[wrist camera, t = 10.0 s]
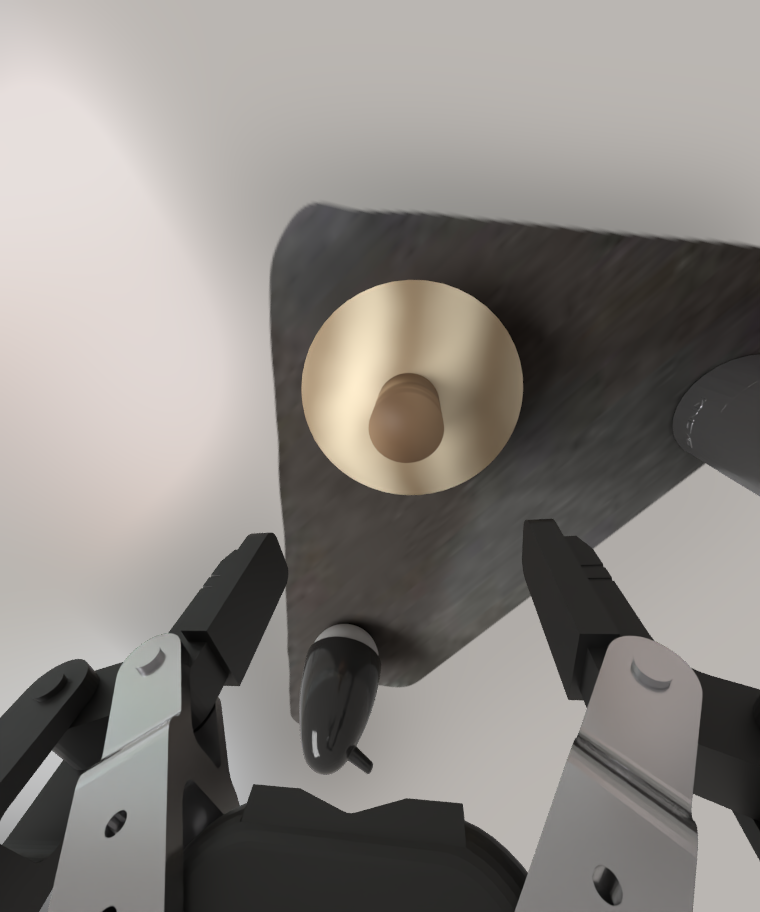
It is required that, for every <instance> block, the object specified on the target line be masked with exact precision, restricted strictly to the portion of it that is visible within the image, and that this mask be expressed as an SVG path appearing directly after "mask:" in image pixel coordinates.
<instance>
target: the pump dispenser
mask: <svg viewBox="0 0 760 912" xmlns="http://www.w3.org/2000/svg"><path fill="white" fill-rule="evenodd" d="M380 673H381V661H380V658H379V655H378V650H377V647H376V644H375V642H374V640H373V639H372V637H371V636H370V635H369V634H368V633H367V632H366V631H365V630H363V629H362V628H360V627H358V626H355V625H351V624H338V625H334V626H331V627H329V628H327V629H326V630H325V631H323V632H322V633H321V634H320V635H319V636H318V638H317V639H316V641H315V642H314V644H312V645H311V647H310V648H309V650H308V653H307V656H306V660H305V665H304V670H303V676H302V682H301V690H300V705H299V721H300V737H301V744H302V750H303V755H304V758H305V760H306V762H307V764H308V765H309V767H310V768H311V769H312V770H314V771H315V772H317V773H319V774H323V775H327V774H332V773H334V772H336V771H338V770H339V769H340V768H341V767H342V766H343V765H344V764H345V763H346V762H347V761H350V762H351V763H353V764H354V765H355V766H357V767H358V768H360V769H361V770H363V771H364V772H366V773H367V774H369V773H370V772H371V770H372V768H373V763H372V761H370V760H369V759H368V758H367V757H366V756H365V755H364V754H363V753H362V752H361V751H360V750H359V749H358V748H357V744H358V741H359V739H360V738H361V736H362V733H363V731H364V729H365V726H366V724H367V721H368V719H369V716H370V713H371V711H372V707H373V704H374V700H375V697H376V693H377V688H378V684H379V679H380Z"/></svg>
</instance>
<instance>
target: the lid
mask: <svg viewBox="0 0 760 912" xmlns="http://www.w3.org/2000/svg"><path fill="white" fill-rule="evenodd" d="M522 396H523V374H522V369H521V363H520V359H519V356H518V353H517V350H516V347H515V345H514V343H513V341H512V339H511V337H510V335H509V333H508V331H507V330H506V328H505V327H504V326H503V324H502V323H501V322H500V320H499V319H498V318H497V317H496V316H495V315H494V314H493V313H492V312H491V311H490V310H489V309H488V308H487V307H486V306H485V305H484V304H482V303H481V302H480V301H478V300H477V299H476V298H474V297H473V296H471V295H469V294H467V293H465V292H463V291H461V290H459V289H457V288H454V287H451V286H448V285H445V284H442V283H437V282H431V281H425V280H404V281H395V282H390V283H386V284H382V285H378V286H375V287H373V288H371V289H368V290H366V291H364V292H361V293H360V294H358V295H356V296H355V297H353V298H351V299H350V300H348V301H347V302H346V303H344V304H343V305H342V306H341V307H340V308H338V309H337V310H336V311H335V312H334V313H333V314H332V315H331V316H330V317H329V318H328V320H327V321H326V322H325V323H324V324H323V326H322V327H321V329H320V330H319V332H318V333H317V335H316V336H315V339H314V341H313V343H312V345H311V347H310V349H309V352H308V355H307V358H306V361H305V365H304V370H303V375H302V402H303V408H304V412H305V417H306V420H307V423H308V426H309V429H310V431H311V433H312V435H313V437H314V439H315V441H316V442H317V444H318V445H319V447H320V448H321V450H322V451H323V452H324V454H325V455H326V456H327V457H328V458H329V460H330V461H331V462H332V463H333V464H334V465H335V466H337V467H338V468H339V469H340V470H341V471H342V472H344V473H345V474H346V475H348V476H349V477H351V478H353V479H354V480H356V481H358V482H359V483H361V484H364V485H366V486H368V487H370V488H373V489H377V490H380V491H383V492H388V493H393V494H401V495H422V494H429V493H435V492H439V491H443V490H446V489H449V488H452V487H454V486H457V485H459V484H461V483H463V482H465V481H467V480H469V479H470V478H472V477H473V476H475V475H476V474H478V473H479V472H481V471H482V470H483V469H484V468H485V467H487V466H488V465H489V464H490V463H491V462H492V461H493V460H494V459H495V458H496V456H497V455H498V454H499V453H500V452H501V450H502V449H503V447H504V446H505V445H506V443H507V441H508V440H509V438H510V436H511V434H512V432H513V430H514V428H515V425H516V423H517V420H518V417H519V413H520V409H521V405H522Z"/></svg>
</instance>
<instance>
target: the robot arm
mask: <svg viewBox="0 0 760 912" xmlns="http://www.w3.org/2000/svg"><path fill="white" fill-rule="evenodd" d="M672 428H673V434H674V437H675V439H676V441H677V443H678V444H679V445H680V446H681V447H682V449H683V450H685V451H687V452H688V453H690V454H692V455H693V456H695V457H696V458H698V459H700V460H701V461H703V462H705V463H706V464H708V465H710V466H711V467H713V468H714V469H716V470H718V471H719V472H721V473H722V474H724V475H725V476H727V477H729V478H730V479H732V480H734V481H735V482H737V483H739V484H740V485H742V486H744V487H745V488H747V489H749V490H751V491H752V492H754V493H755V494H757V495H759V496H760V354H759V355H750V356H745V357H741V358H738V359H734V360H731V361H729V362H727V363H725V364H722V365H720V366H718V367H716V368H715V369H713V370H712V371H710V372H708V373H707V374H705V375H704V376H703V377H702V378H700V379H699V380H698V381H697V382H696V383H694V384H693V385H692V387H691V388H690V389H689V390H688V391H687V392H686V393H685V395H684V396H683V398H682V399H681V401H680V403H679V404H678V406H677V408H676V411H675V414H674V417H673V425H672ZM522 565H523V572H524V576H525V580H526V583H527V586H528V589H529V591H530V594H531V597H532V600H533V602H534V605H535V608H536V611H537V614H538V616H539V619H540V622H541V625H542V628H543V630H544V633H545V636H546V639H547V641H548V644H549V647H550V650H551V653H552V656H553V658H554V661H555V664H556V667H557V670H558V672H559V675H560V678H561V681H562V683H563V686H564V689H565V692H566V695H567V697H568V699H569V700H584V702H585V705H586V707H587V710H586V713H585V716H584V719H583V722H582V725H581V728H580V731H579V733H578V736H577V738H576V739H575V740H574V743H573V745H572V748H571V750H570V753H569V756H568V759H567V762H566V765H565V767H564V770H563V773H562V776H561V779H560V782H559V785H558V788H557V791H556V793H555V796H554V799H553V802H552V805H551V808H550V811H549V814H548V817H547V820H546V822H545V825H544V828H543V831H542V834H541V837H540V840H539V843H538V846H537V849H536V851H535V854H534V857H533V860H532V863H531V866H530V869H529V872H527V871H526V870H525V868H524V867H523V866H522V865H521V864H520V863H519V861H518V860H517V859H516V858H515V857H514V856H513V855H512V854H511V853H510V852H509V851H508V850H507V849H506V848H505V847H504V846H503V845H501V844H500V843H499V842H498V841H497V840H496V839H494V838H493V837H492V836H490V835H489V834H488V833H486V832H485V831H483V830H482V829H480V828H479V827H477V826H475V825H473V824H470V823H468V822H466V821H465V820H464V811H463V804H460V803H451V802H440V801H429V800H418V799H403V800H400V801H396V802H392V803H389V804H385V805H381V806H378V807H374V808H371V809H367V810H363V811H360V812H356V813H346V812H343V811H341V810H339V809H338V808H336V807H334V806H332V805H330V804H328V803H326V802H325V801H323V800H321V799H319V798H317V797H315V796H313V795H312V794H310V793H308V792H306V791H304V790H302V789H299V788H288V787H276V786H266V785H255V784H254V785H253V787H252V790H251V793H250V796H249V799H248V802H247V803H246V804H244V805H241V806H240V805H239V801H238V798H237V795H236V792H235V789H234V787H233V784H232V781H231V778H230V773H229V767H228V759H227V750H226V742H225V733H224V725H223V716H222V707H221V701H220V699H219V697H218V696H219V694H220V692H221V690H222V688H223V686H240V684H241V682H242V680H243V678H244V676H245V673H246V671H247V669H248V667H249V665H250V663H251V660H252V658H253V656H254V654H255V652H256V649H257V647H258V645H259V643H260V641H261V639H262V636H263V634H264V632H265V630H266V628H267V626H268V623H269V621H270V619H271V617H272V615H273V612H274V610H275V608H276V606H277V604H278V601H279V599H280V597H281V595H282V593H283V591H284V588H285V586H286V584H287V580H288V567H287V564H286V561H285V558H284V556H283V553H282V551H281V548H280V545H279V543H278V540H277V537H276V536H275V534H274V533H257V534H250V535H248V536H247V537H246V539H245V540H244V542H243V543H242V544H241V546H240V547H239V549H238V550H234V551H233V552H232V553H231V554H229V555H228V556H227V557H226V558H225V559H223V560H222V561H221V562H220V564H219V565H218V566H217V568H216V569H215V570H214V572H213V573H212V575H211V577H209V578H208V580H207V581H206V583H205V584H204V585H203V589H201V590H200V591H199V592H198V593H197V595H196V596H195V598H194V599H193V601H192V602H191V603H190V604H189V606H188V607H187V608H186V610H185V611H184V612H183V614H182V615H181V617H180V618H179V619H178V621H177V622H176V623H175V625H174V626H173V628H172V629H171V630H170V631H169V633H166V634H161V635H158V636H155V637H153V638H151V639H149V640H147V641H146V642H144V643H143V644H141V645H140V646H139V647H138V648H136V649H135V650H134V651H133V652H132V653H131V654H130V655H129V656H128V657H127V658H126V660H125V661H124V662H122V663H119V664H115V665H112V666H109V667H106V668H102V669H99V670H96V671H94V670H93V669H92V667H91V666H90V665H89V664H88V663H87V662H86V661H85V660H82V659H75V660H71V661H68V662H65V663H63V664H61V665H59V666H57V667H55V668H53V669H51V670H50V671H49V672H47V673H46V674H44V675H43V676H41V677H40V678H39V679H38V680H37V681H35V682H34V683H33V684H32V685H31V686H30V687H29V688H28V689H27V690H26V691H25V692H24V693H23V694H22V695H21V696H20V697H19V699H18V700H17V701H16V702H15V703H14V704H13V705H12V706H11V707H10V708H9V709H8V710H7V711H6V712H5V713H4V714H3V715H2V717H1V718H0V820H1V818H2V816H3V815H4V813H5V811H6V810H7V808H8V807H9V806H10V804H11V803H12V802H13V801H14V799H15V798H16V796H17V795H18V794H19V793H20V791H21V790H22V789H23V787H24V786H25V785H26V783H27V782H28V781H29V779H30V778H31V777H32V776H33V774H34V773H35V772H36V770H37V769H38V768H39V766H40V765H41V764H42V762H43V761H44V760H45V758H46V757H47V756H48V754H49V753H50V752H51V751H53V752H55V753H56V754H57V755H58V756H59V757H61V758H62V759H63V761H62V763H61V764H60V766H59V767H58V768H57V770H56V771H55V772H54V774H53V775H52V777H51V778H50V779H49V781H48V782H47V784H46V785H45V786H44V788H43V789H42V790H41V792H40V794H39V795H38V796H37V797H36V799H35V800H34V802H33V803H32V805H31V806H30V807H29V809H28V810H27V811H26V813H25V814H24V816H23V817H22V818H21V820H20V821H19V823H18V824H17V825H16V827H15V828H14V829H13V831H12V832H11V834H10V835H9V837H8V838H7V839H6V841H5V842H4V843H3V844H2V845H1V844H0V912H39V911H40V909H41V907H42V906H43V904H44V902H45V901H46V899H47V897H48V895H49V894H50V892H51V890H52V889H53V890H52V895H51V900H50V904H49V908H48V912H693V900H694V888H695V876H696V865H697V851H698V833H697V826H696V823H695V821H693V819H692V813H691V807H692V795H693V794H695V795H698V796H700V797H702V798H705V799H707V800H709V801H712V802H714V803H717V804H719V805H722V806H724V807H726V808H729V809H731V810H732V811H733V813H734V815H735V816H736V818H737V820H738V822H739V824H740V826H741V827H742V829H743V831H744V833H745V835H746V837H747V838H748V840H749V842H750V844H751V846H752V847H753V849H754V851H755V853H756V855H757V856H758V858H759V860H760V690H759V689H756V688H752V687H749V686H745V685H742V684H738V683H735V682H731V681H728V680H724V679H721V678H717V677H714V676H710V675H707V674H704V673H701V672H699V671H696V670H694V669H692V668H690V666H689V665H688V664H687V663H686V662H685V661H684V660H683V659H682V658H681V657H680V656H678V655H677V654H676V653H674V652H673V651H671V650H670V649H669V648H667V647H665V646H663V645H662V644H660V643H658V642H655V641H654V640H653V639H652V637H651V636H650V635H649V633H648V632H647V630H646V629H645V627H644V626H643V624H642V623H641V621H640V619H639V618H638V617H637V615H636V613H635V612H634V611H633V609H632V607H631V606H630V604H629V603H628V601H627V600H626V598H625V597H624V595H623V594H622V592H621V591H620V589H619V588H618V586H617V585H616V583H615V582H614V581H612V577H611V576H610V574H609V573H608V571H607V570H606V568H604V567H603V563H602V562H601V561H600V559H599V557H598V556H597V554H596V553H595V552H594V550H593V549H592V548H591V547H590V546H589V545H587V544H586V543H585V542H583V541H582V540H581V539H579V538H578V537H577V536H563V534H562V532H561V531H560V529H559V527H558V525H557V524H556V522H555V521H554V520H553V519H539V520H525V521H524V528H523V550H522Z"/></svg>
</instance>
